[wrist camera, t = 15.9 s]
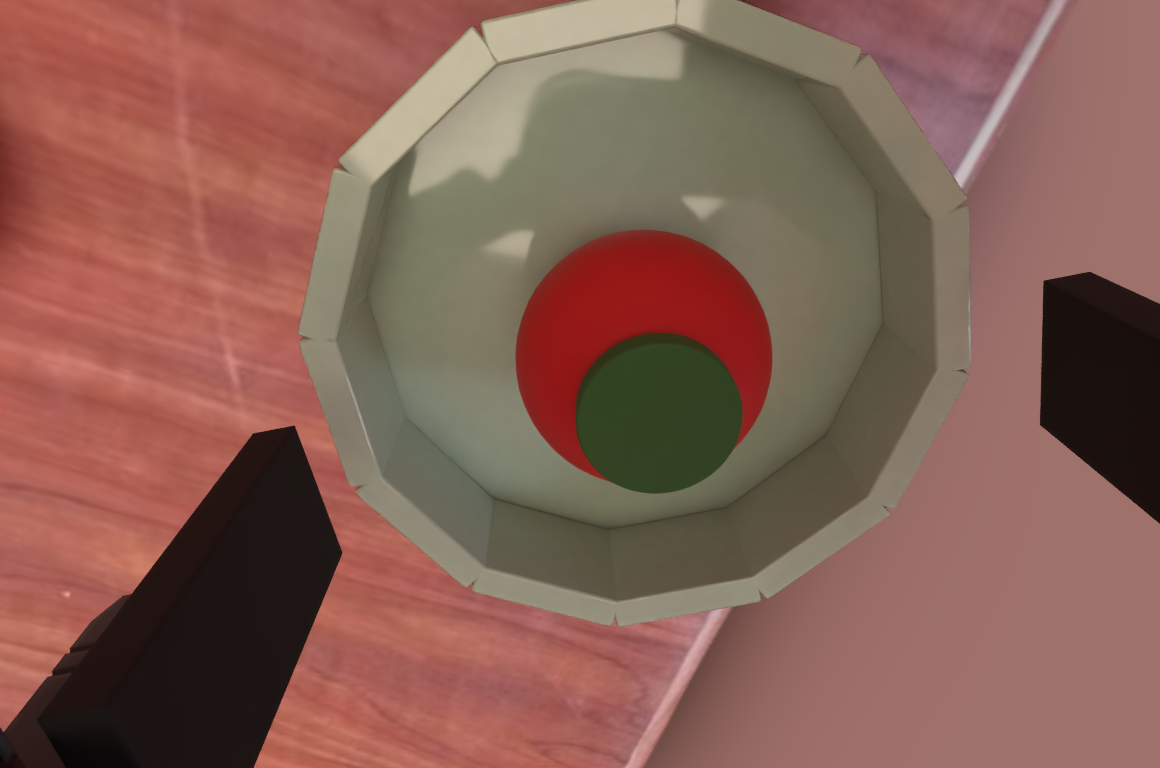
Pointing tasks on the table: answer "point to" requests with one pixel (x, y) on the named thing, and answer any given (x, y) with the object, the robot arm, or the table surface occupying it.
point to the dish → (622, 203)
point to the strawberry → (644, 359)
